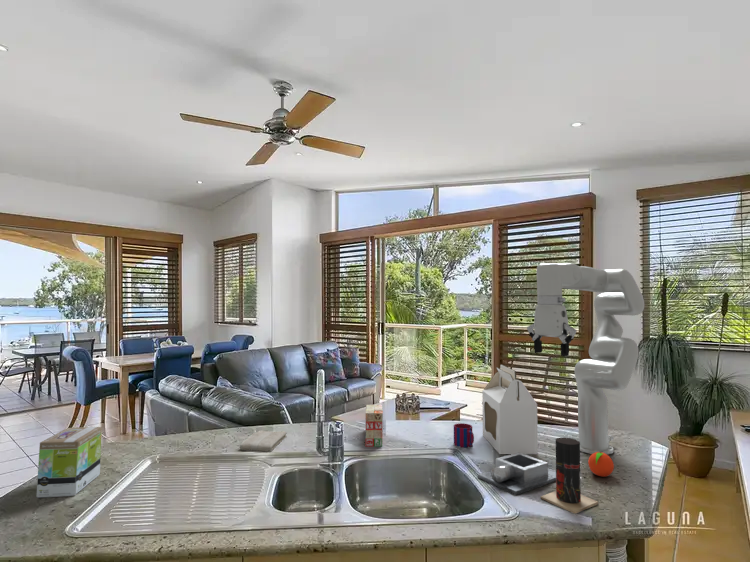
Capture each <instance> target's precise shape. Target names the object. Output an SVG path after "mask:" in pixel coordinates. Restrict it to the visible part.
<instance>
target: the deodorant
mask: <svg viewBox="0 0 750 562" xmlns="http://www.w3.org/2000/svg"><path fill="white" fill-rule="evenodd" d="M555 471H556V481H555V491H556V497H557V499H558V500H560V501H562V502H565V503H571V504H575V503H579V502H580V501H581V495H582V493H581V491H582V489H581V486H582V485H581V483H582V482H581V451H580V442H579V439H578V440H577V439H575V438H570V437H557V438H555Z"/></svg>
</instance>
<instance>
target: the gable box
mask: <svg viewBox="0 0 750 562" xmlns="http://www.w3.org/2000/svg"><path fill="white" fill-rule="evenodd" d="M495 368H496V370H497V371H496V372H495V373H494V375H493V376H492V378H491V379H490V380H489V382H488V383H487V385H485V387H484V389H483V390H482V393H481V394H482V396H481V397H482V435H483V437H484V438H485V439H486V440H487V441H488V443H489V444H490V445H491V446H492V447H493V448H494V450H495V451H496V452H497V453H498V454H499V455H500V454H514V453H518V452H520V453H522V454H525V455H538V454H539V453H538V452H539V449H538V448H539V446H538V445H539V444H538V442H539V441H538V439H539V437H538V436H539V435H538V403H537V402H536V400H535V399H534V398H533V396H532V394H531V393H530V392H529V390H528V389H527V387H526V385H525V384H524V382H522V380H520V379H517V372H516V370H514V369H512V368H511V367H508V366H506V365H504V364H500V367H498V366H497V367H495Z"/></svg>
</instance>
